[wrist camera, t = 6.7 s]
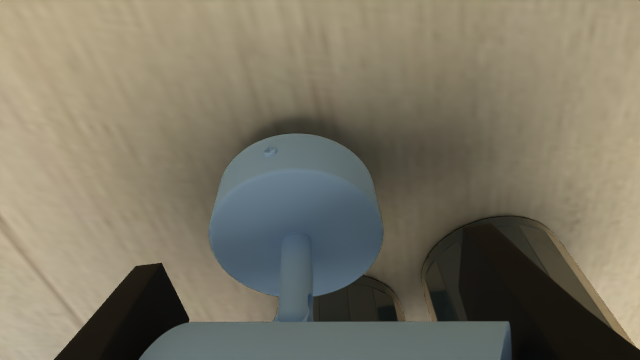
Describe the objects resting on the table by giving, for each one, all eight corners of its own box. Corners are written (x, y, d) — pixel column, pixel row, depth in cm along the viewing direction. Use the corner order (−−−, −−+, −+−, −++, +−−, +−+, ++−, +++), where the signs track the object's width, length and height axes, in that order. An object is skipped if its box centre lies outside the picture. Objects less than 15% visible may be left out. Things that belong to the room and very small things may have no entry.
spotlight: (420, 89, 10) (161, 157, 11) (842, 843, 2) (-205, 879, 3) (441, 233, 13) (232, 279, 14) (666, 806, 5) (135, 831, 6)
